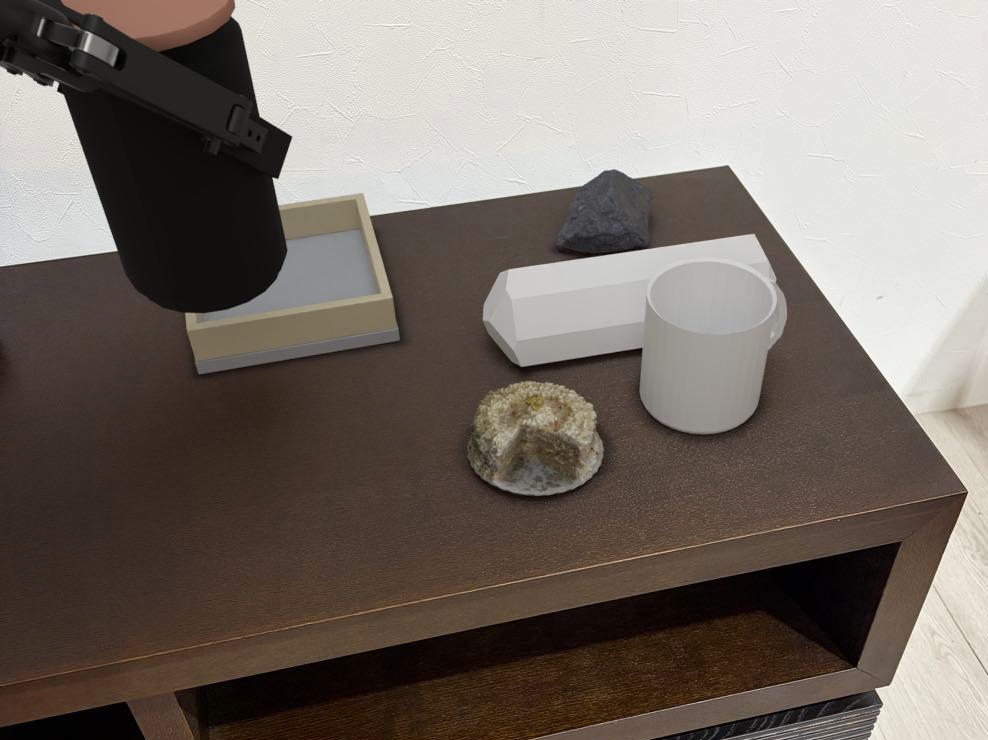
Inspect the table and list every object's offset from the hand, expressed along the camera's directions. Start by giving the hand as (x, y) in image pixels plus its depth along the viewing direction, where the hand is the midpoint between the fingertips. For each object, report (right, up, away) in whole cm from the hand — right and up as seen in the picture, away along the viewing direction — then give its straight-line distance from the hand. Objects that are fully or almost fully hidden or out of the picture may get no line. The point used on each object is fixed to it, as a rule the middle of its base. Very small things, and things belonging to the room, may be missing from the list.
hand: (210, 133), depth 69 cm
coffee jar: (-1, -8, +5) cm, 9 cm away
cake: (+20, -19, +11) cm, 30 cm away
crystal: (+28, -8, +20) cm, 36 cm away
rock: (+27, +2, +29) cm, 40 cm away
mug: (+34, -14, +15) cm, 40 cm away
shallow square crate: (0, -5, +23) cm, 24 cm away
